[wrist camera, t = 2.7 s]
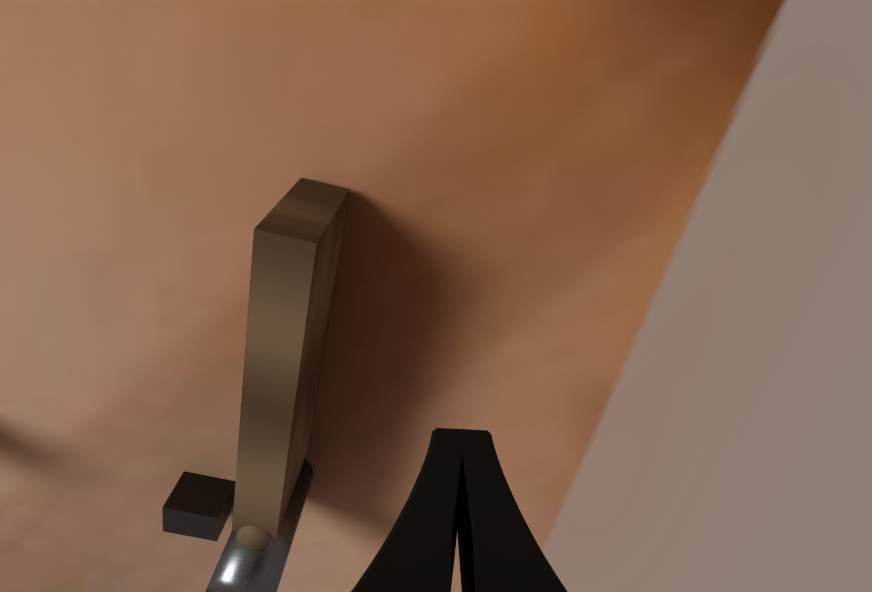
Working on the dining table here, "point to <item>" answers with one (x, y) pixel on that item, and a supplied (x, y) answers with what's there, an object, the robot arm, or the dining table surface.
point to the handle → (284, 351)
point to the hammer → (205, 518)
